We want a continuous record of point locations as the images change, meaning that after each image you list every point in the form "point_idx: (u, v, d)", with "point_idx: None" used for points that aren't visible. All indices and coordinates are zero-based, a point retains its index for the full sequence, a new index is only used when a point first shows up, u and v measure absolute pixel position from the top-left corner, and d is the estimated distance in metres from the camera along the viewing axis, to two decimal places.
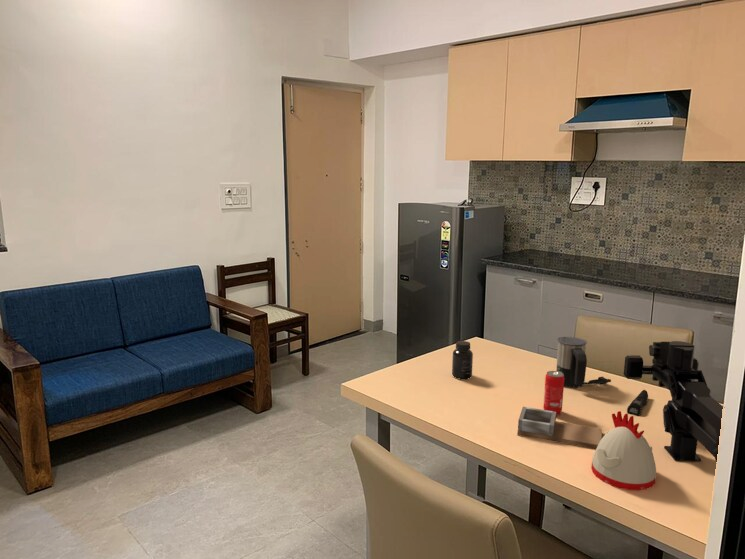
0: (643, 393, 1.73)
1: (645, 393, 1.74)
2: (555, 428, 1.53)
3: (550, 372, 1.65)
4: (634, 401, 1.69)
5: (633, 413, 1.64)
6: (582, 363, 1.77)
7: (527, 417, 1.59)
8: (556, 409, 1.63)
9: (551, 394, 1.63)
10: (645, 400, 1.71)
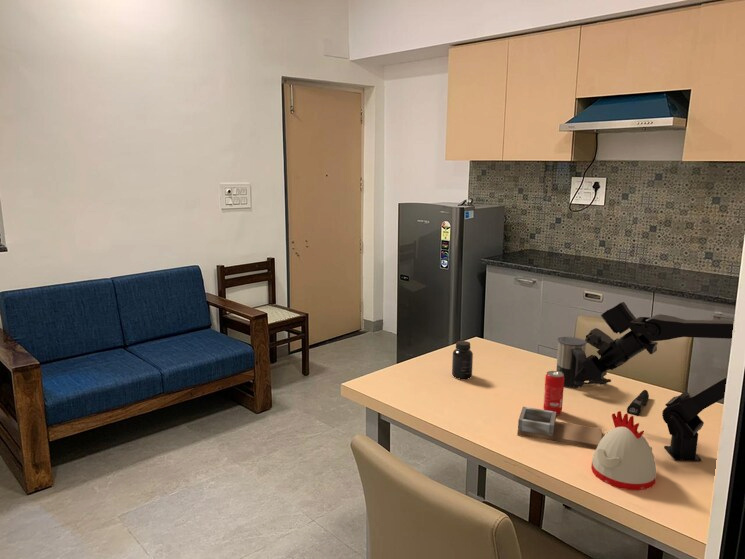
0: (644, 393, 1.73)
1: (646, 393, 1.74)
2: (555, 428, 1.53)
3: (550, 372, 1.65)
4: (634, 401, 1.69)
5: (633, 413, 1.65)
6: None
7: (527, 417, 1.59)
8: (556, 409, 1.63)
9: (551, 394, 1.63)
10: (645, 400, 1.71)
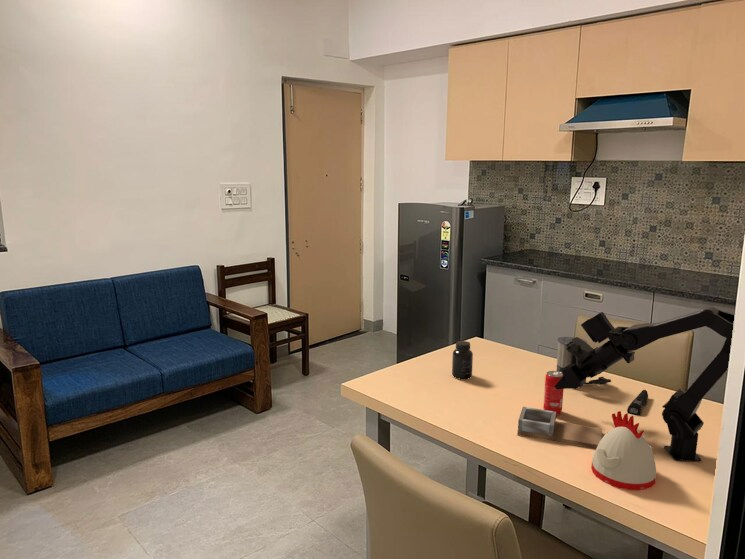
0: (643, 393, 1.74)
1: (645, 393, 1.74)
2: (555, 428, 1.53)
3: (550, 372, 1.65)
4: (634, 401, 1.69)
5: (633, 413, 1.65)
6: None
7: (527, 417, 1.59)
8: (556, 408, 1.63)
9: (551, 394, 1.63)
10: (645, 400, 1.71)
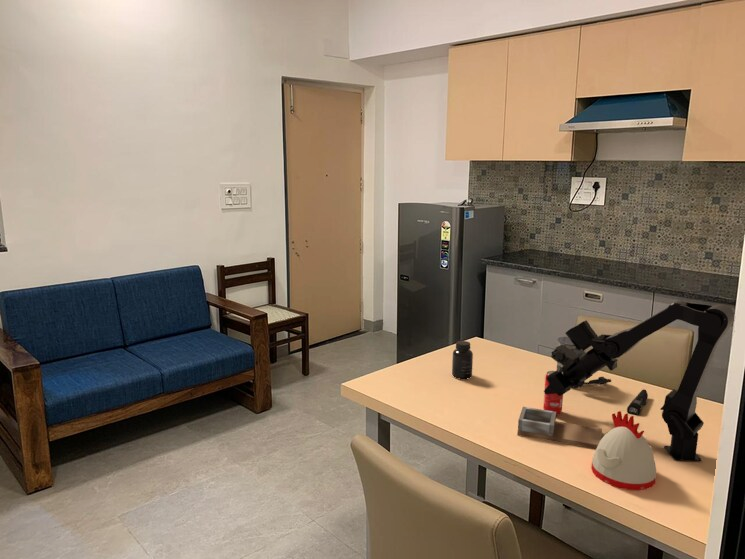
0: (643, 393, 1.74)
1: (645, 393, 1.74)
2: (555, 428, 1.53)
3: (550, 372, 1.65)
4: (634, 401, 1.69)
5: (633, 413, 1.65)
6: None
7: (527, 417, 1.59)
8: (556, 409, 1.63)
9: (551, 394, 1.63)
10: (645, 400, 1.71)
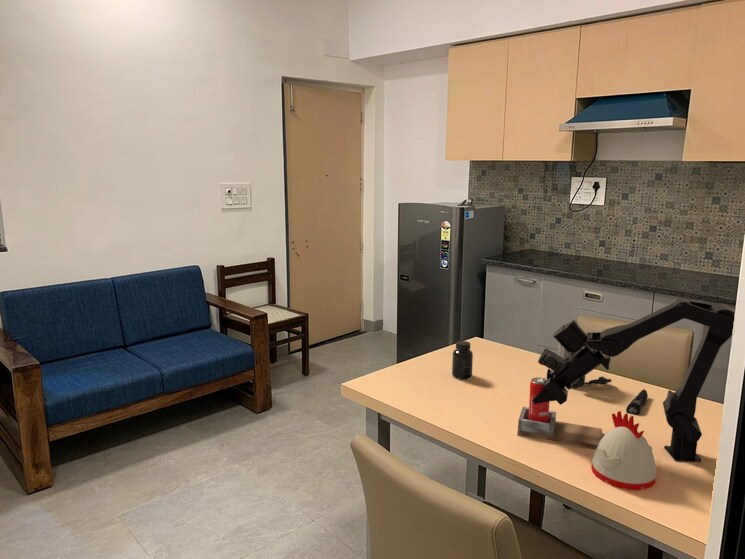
0: (643, 393, 1.74)
1: (645, 393, 1.74)
2: (555, 428, 1.53)
3: (534, 380, 1.53)
4: (633, 401, 1.69)
5: (632, 413, 1.65)
6: None
7: (527, 417, 1.59)
8: (545, 418, 1.52)
9: (540, 403, 1.51)
10: (644, 400, 1.71)
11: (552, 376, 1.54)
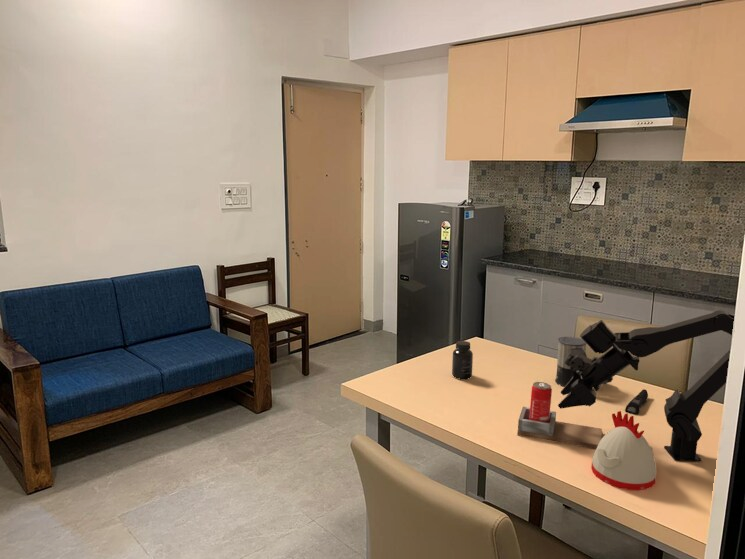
0: (643, 392, 1.74)
1: (645, 392, 1.74)
2: (555, 428, 1.53)
3: (536, 384, 1.52)
4: (633, 400, 1.69)
5: (631, 412, 1.65)
6: None
7: (527, 417, 1.59)
8: (545, 422, 1.52)
9: (541, 408, 1.51)
10: (644, 399, 1.71)
11: (579, 375, 1.53)
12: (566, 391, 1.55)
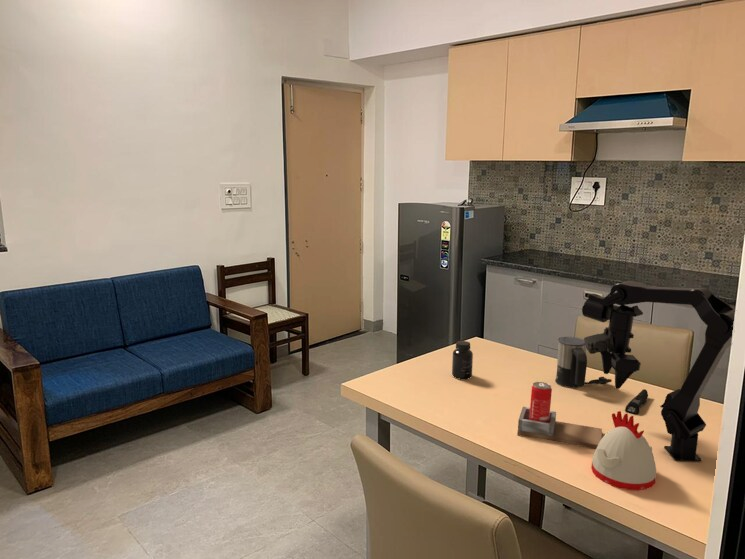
0: (643, 392, 1.74)
1: (645, 392, 1.74)
2: (555, 428, 1.53)
3: (536, 384, 1.52)
4: (633, 400, 1.69)
5: (631, 412, 1.65)
6: (582, 363, 1.77)
7: (527, 417, 1.59)
8: (545, 422, 1.52)
9: (541, 408, 1.51)
10: (644, 399, 1.71)
11: (604, 349, 1.59)
12: (607, 369, 1.60)
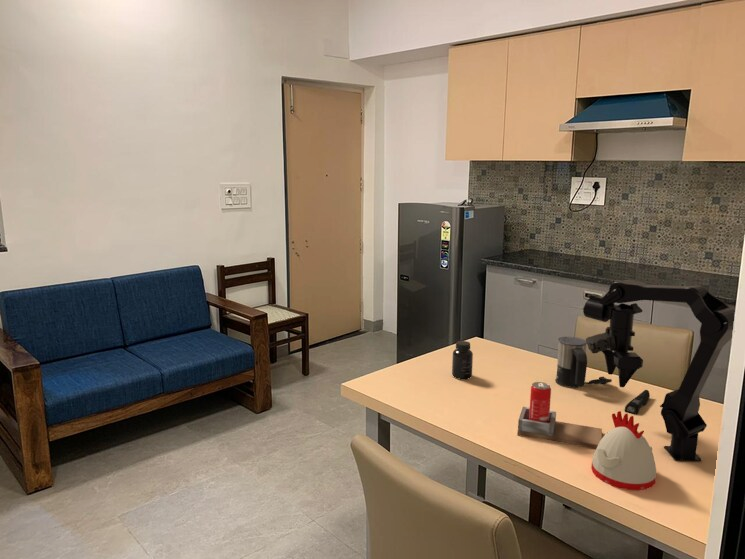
0: (644, 393, 1.74)
1: (646, 393, 1.74)
2: (555, 428, 1.53)
3: (535, 384, 1.52)
4: (633, 400, 1.69)
5: (630, 412, 1.65)
6: (582, 363, 1.77)
7: (527, 417, 1.59)
8: (545, 422, 1.52)
9: (541, 408, 1.51)
10: (645, 400, 1.71)
11: (607, 350, 1.60)
12: (611, 369, 1.60)
